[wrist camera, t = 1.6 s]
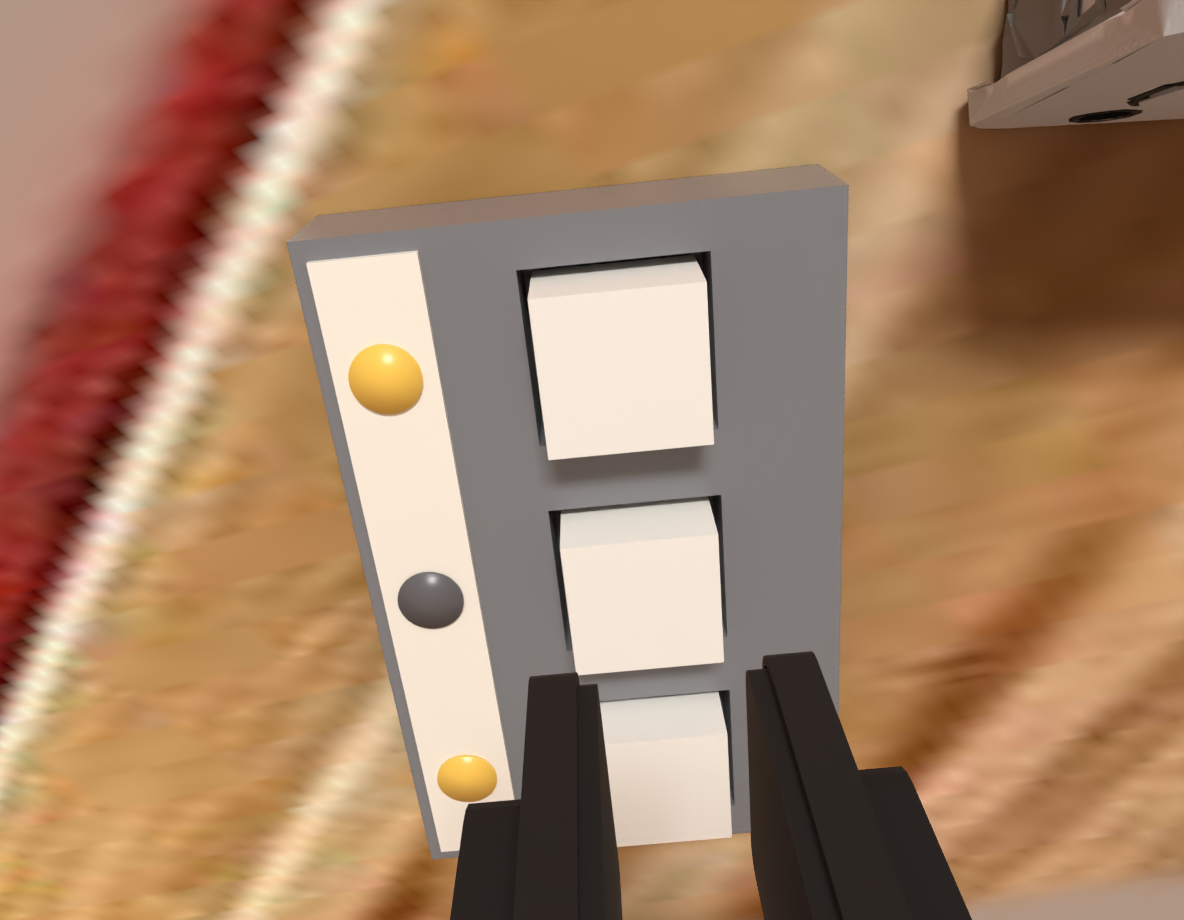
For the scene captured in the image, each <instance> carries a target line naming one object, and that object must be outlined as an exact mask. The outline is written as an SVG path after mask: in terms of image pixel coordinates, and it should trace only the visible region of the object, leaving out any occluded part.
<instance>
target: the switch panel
mask: <svg viewBox="0 0 1184 920" xmlns="http://www.w3.org/2000/svg"><path fill="white" fill-rule="evenodd" d="M847 237H848V184H847V183H845V182H844V181H842V180H841V179H839V178H838V177H836V176H835V175H833V174H832V173H830V172H829V171H827V170H826V169H824V168H823V167H822V166H820V165H819V164H816V165H806V166H796V167H787V168H777V169H767V170H757V171H748V172H738V173H728V174H718V175H709V176H699V177H689V178H679V179H670V180H660V181H650V182H640V183H631V184H621V185H611V186H601V187H592V188H582V189H572V190H562V191H553V192H543V193H533V194H523V195H514V196H504V197H494V198H484V199H475V200H465V201H455V202H445V203H436V204H426V205H416V206H406V207H397V208H387V209H377V210H367V211H358V212H348V213H338V214H328V215H319V216H316V217H315V218H314V219H313V220H312V221H311V222H309V223H308V224H307V225H306V226H305V227H304V228H302V229H301V230H300V231H299V232H298V233H296V234H295V235H294V236H293V237H292V238H291V239H289V240H288V241H287V247H288V251H289V255H290V259H291V264H292V268H293V272H294V276H295V280H296V285H297V289H298V293H299V297H300V302H301V306H302V310H303V314H304V319H305V323H306V327H307V331H308V336H309V340H310V344H311V348H312V352H313V357H314V361H315V365H316V369H317V374H318V378H319V382H320V386H321V391H322V395H323V399H324V403H325V408H326V412H327V416H328V420H329V424H330V429H331V433H332V437H333V441H334V446H335V450H336V454H337V458H338V463H339V467H340V471H341V475H342V480H343V484H344V488H345V492H346V496H347V501H348V505H349V509H350V513H351V518H352V522H353V526H354V530H355V535H356V539H357V543H358V547H359V552H360V556H361V560H362V564H363V568H364V573H365V577H366V581H367V585H368V590H369V594H370V598H371V602H372V607H373V611H374V615H375V619H376V624H377V628H378V632H379V636H380V640H381V645H382V649H383V653H384V657H385V662H386V666H387V670H388V674H389V679H390V683H391V687H392V691H393V696H394V700H395V704H396V708H397V712H398V717H399V721H400V725H401V729H402V734H403V738H404V742H405V746H406V751H407V755H408V759H409V763H410V768H411V772H412V776H413V780H414V784H415V789H416V793H417V797H418V801H419V806H420V810H421V814H422V818H423V823H424V827H425V831H426V835H427V839H428V844H429V848H430V852H431V856H432V859H441V858H453V857H459V850H460V842H461V835H462V827H463V820H464V815H465V810H466V808H467V806H468V804H471V803H483V802H494V801H506V800H517V799H521V789H522V774H523V759H524V743H525V728H526V712H527V697H528V683H529V678H530V676H540V675H551V674H562V673H574V672H576V669H575V661H574V653H573V646H572V638H571V630H570V623H569V615H568V607H567V600H566V592H565V584H564V576H563V569H562V561H561V553H560V525H561V510H565V509H576V508H586V507H597V506H607V505H618V504H629V503H639V502H650V501H661V500H671V499H682V498H693V497H703V496H708V499H709V502H710V506H711V510H712V513H713V517H714V521H715V524H716V528H717V532H718V541H719V563H720V584H721V606H722V628H723V650H724V662H722V663H711V664H700V665H688V666H677V667H666V668H655V669H644V670H633V671H621V672H610V673H599V674H588V675H578V676H579V682H580V685H587V684H597V685H598V691H599V699H600V701H609V700H621V699H632V698H643V697H654V696H666V695H677V694H688V693H699V692H711V691H718V692H719V697H720V701H721V706H722V711H723V716H724V720H725V725H726V730H727V738H728V759H729V781H730V803H731V825H732V834H736V833H748V832H751V824H750V794H749V765H748V735H747V706H746V671H747V670H755V669H762V661H763V656H764V655H775V654H786V653H797V652H808V651H812V652H813V653H814V654H815V656H816V658H817V660H818V663H819V666H820V668H821V671H822V674H823V677H824V679H825V682H826V685H827V687H828V690H829V693H830V695H831V698H832V701H833V704H834V706H835V709H836V712H837V714H838V707H839V655H840V603H841V551H842V499H843V446H844V394H845V342H846V290H847ZM684 255H694V256H695V258H696V260H697V262H698V264H699V267H700V269H701V271H702V273H703V275H704V277H705V279H706V281H707V300H708V322H709V344H710V366H711V388H712V410H713V431H714V444H713V445H703V446H692V447H682V448H671V449H661V450H651V451H640V452H630V453H619V454H609V455H598V456H588V457H577V458H567V459H556V460H548V453H547V445H546V438H545V430H544V422H543V415H542V407H541V399H540V392H539V384H538V376H537V368H536V361H535V353H534V345H533V338H532V330H531V322H530V314H529V307H528V293H529V287H530V280H531V273H532V271H535V270H545V269H555V268H565V267H575V266H585V265H595V264H605V263H615V262H625V261H634V260H644V259H654V258H664V257H674V256H684Z"/></svg>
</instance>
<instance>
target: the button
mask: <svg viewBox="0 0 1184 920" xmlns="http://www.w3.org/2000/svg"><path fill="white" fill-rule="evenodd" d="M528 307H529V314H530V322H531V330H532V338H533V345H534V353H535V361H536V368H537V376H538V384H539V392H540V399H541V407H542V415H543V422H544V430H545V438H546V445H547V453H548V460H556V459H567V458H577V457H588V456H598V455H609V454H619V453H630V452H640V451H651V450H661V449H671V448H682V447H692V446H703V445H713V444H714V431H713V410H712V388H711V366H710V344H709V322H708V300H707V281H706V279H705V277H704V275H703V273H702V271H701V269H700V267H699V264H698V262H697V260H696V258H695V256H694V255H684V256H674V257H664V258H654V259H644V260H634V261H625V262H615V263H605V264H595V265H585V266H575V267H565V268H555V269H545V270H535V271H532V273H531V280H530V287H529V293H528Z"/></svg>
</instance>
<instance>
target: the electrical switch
mask: <svg viewBox="0 0 1184 920" xmlns="http://www.w3.org/2000/svg"><path fill="white" fill-rule="evenodd" d="M967 91H968V107H969V124H970V126H973V127H976V128H980V129H1005V128H1023V127H1041V126H1060V125H1078V124H1097V123H1115V122H1133V121H1152V120H1170V119H1184V0H1008V14H1007V16H1006V22H1005V28H1004V34H1003V64H1002V71H1001V79H1000V80H999V81H998V82H996V83H992V82H988V81H987V82H984V83H982V84H979V85H977V86H974V87H972V88H969V89H967Z"/></svg>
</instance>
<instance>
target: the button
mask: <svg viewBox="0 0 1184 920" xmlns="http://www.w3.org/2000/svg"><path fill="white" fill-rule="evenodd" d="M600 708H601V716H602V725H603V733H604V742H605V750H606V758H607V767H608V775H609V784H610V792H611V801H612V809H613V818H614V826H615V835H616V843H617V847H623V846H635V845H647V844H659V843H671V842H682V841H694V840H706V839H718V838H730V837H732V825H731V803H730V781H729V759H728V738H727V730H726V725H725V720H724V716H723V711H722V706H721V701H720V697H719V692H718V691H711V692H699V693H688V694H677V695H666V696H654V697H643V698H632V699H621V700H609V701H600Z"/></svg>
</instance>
